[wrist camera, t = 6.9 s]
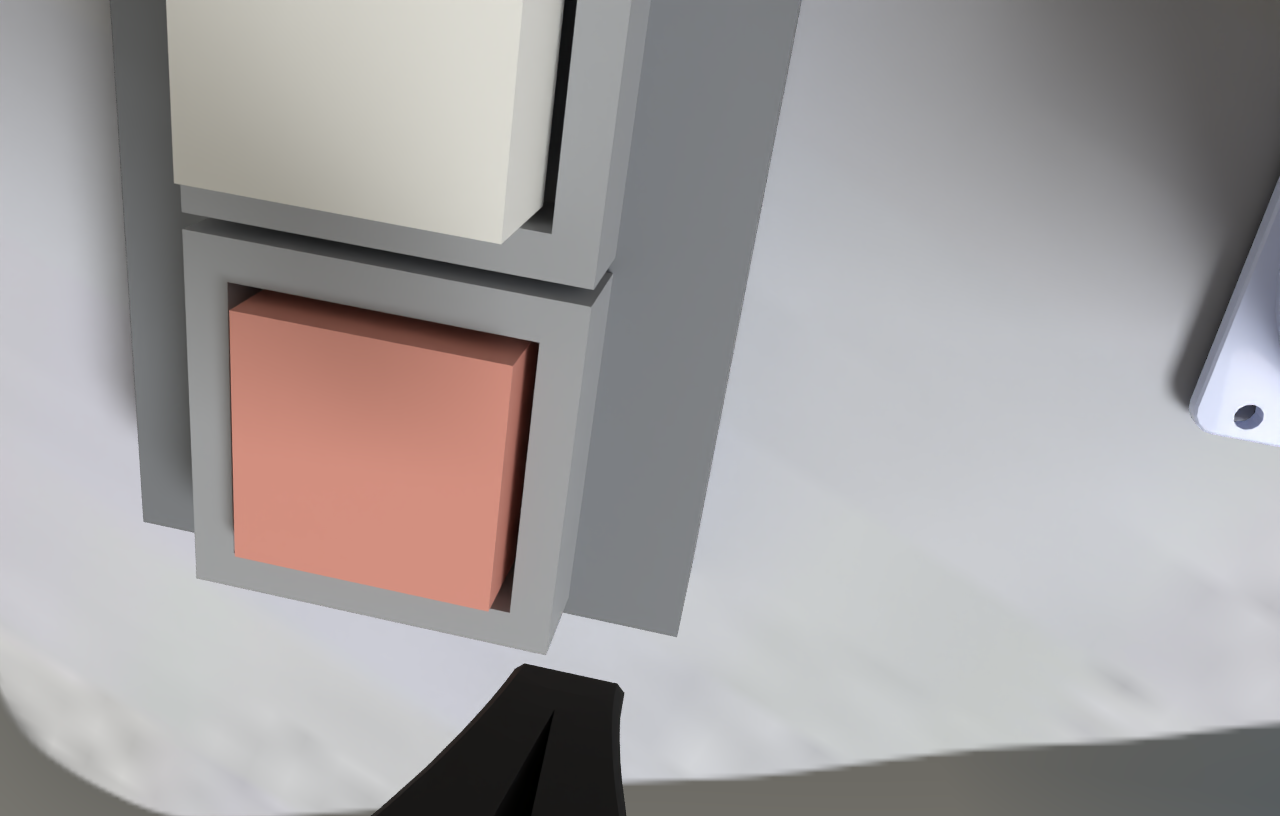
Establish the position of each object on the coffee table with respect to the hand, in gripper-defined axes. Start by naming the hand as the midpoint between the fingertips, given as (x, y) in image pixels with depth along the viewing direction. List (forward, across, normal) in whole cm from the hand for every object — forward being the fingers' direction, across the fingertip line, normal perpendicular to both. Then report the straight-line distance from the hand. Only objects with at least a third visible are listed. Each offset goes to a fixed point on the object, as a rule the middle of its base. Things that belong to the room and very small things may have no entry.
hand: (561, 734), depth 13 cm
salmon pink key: (+8, +5, 0) cm, 9 cm away
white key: (+6, +5, -8) cm, 11 cm away
